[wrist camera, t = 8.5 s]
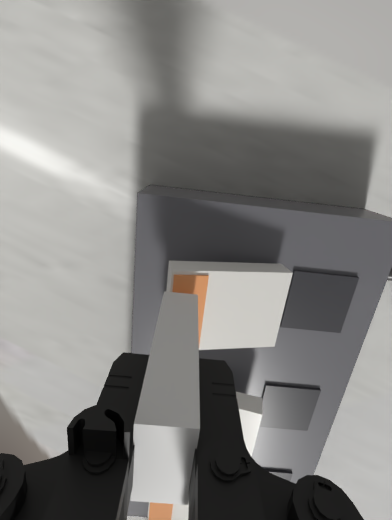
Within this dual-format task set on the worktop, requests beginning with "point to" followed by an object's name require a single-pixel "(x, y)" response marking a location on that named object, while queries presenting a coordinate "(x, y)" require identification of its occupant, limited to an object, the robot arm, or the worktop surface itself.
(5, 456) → the robot arm
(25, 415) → the worktop surface
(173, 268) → the rocker
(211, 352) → the power strip
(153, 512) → the rocker
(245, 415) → the middle rocker
